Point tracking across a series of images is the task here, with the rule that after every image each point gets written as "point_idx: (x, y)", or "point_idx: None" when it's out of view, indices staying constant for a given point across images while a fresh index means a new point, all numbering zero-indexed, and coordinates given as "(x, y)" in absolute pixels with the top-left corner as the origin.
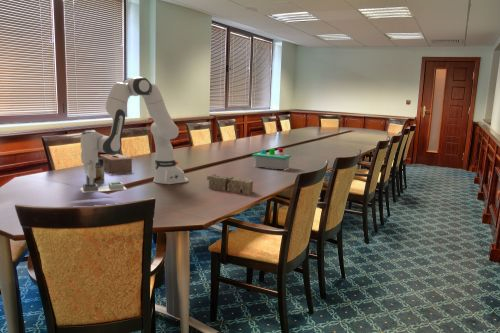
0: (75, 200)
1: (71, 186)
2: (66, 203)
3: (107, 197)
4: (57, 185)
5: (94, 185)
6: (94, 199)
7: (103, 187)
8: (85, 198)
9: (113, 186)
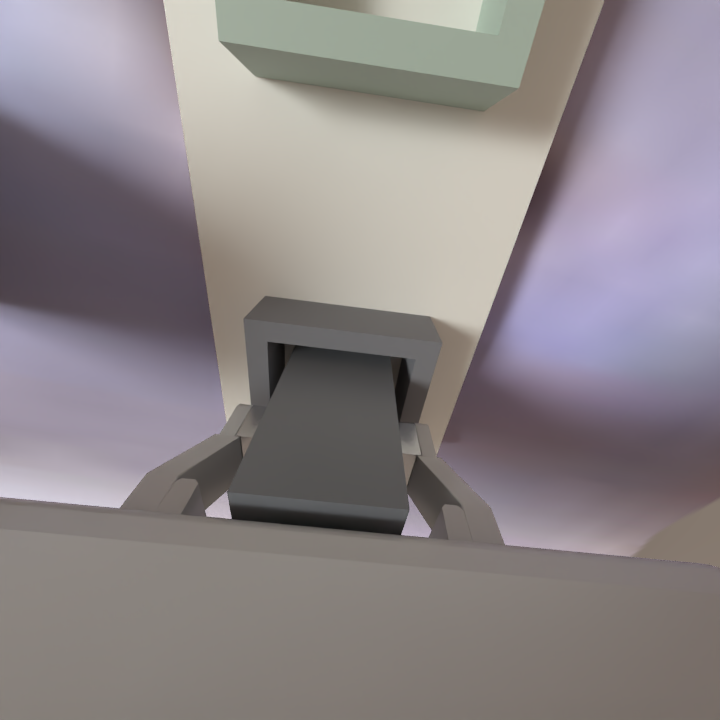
0: (548, 497)
1: (58, 437)
2: (576, 538)
3: (698, 269)
4: (25, 497)
5: (392, 379)
6: (643, 398)
7: (279, 194)
8: (547, 442)
9: (526, 17)
